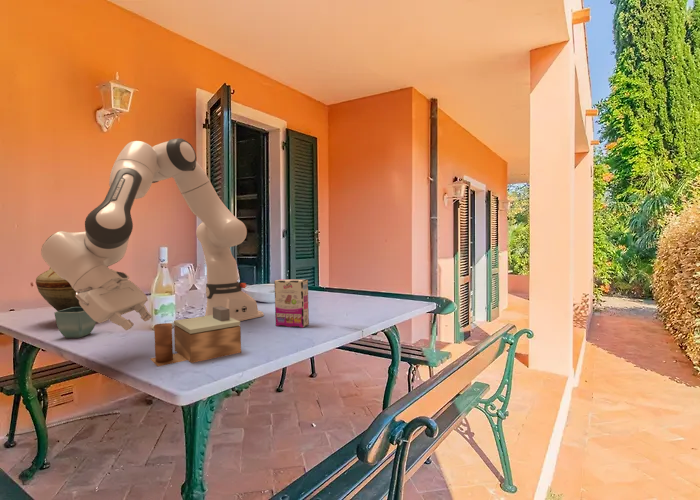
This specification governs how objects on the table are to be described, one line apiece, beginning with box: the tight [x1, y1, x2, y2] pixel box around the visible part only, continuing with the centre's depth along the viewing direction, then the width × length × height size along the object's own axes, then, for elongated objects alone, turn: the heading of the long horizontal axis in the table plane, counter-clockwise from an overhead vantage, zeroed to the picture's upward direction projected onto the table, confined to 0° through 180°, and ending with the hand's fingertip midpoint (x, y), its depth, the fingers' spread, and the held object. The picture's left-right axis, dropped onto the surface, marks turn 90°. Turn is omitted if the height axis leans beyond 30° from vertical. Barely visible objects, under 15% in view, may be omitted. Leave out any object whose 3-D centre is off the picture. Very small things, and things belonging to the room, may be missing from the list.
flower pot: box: [54, 307, 97, 339], centre depth 130 cm, size 9×9×9 cm
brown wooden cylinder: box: [153, 322, 174, 363], centre depth 100 cm, size 4×4×9 cm
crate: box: [149, 324, 242, 367], centre depth 105 cm, size 20×14×8 cm
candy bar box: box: [273, 278, 310, 329], centre depth 140 cm, size 11×5×16 cm, turn 71°
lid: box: [173, 306, 241, 334], centre depth 107 cm, size 13×14×4 cm
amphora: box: [35, 267, 81, 312], centre depth 150 cm, size 24×24×30 cm
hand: (140, 323), depth 99 cm, fingers open, 8 cm apart
